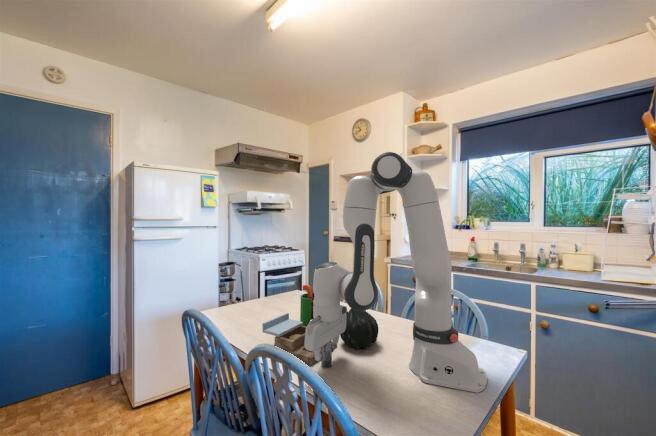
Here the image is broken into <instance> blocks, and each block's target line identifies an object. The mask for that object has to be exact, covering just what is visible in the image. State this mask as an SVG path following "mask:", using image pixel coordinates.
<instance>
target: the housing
mask: <svg viewBox="0 0 656 436" xmlns="http://www.w3.org/2000/svg"><path fill="white" fill-rule="evenodd" d="M305 332H306V326H300V327H298V328H296V329H294V330H292V331H290V332H288V333H286V334H284V335H282V336H280V337H277V336H274V347H275V346H277V347H279V348H281V349H283V350H285V351H287V352H289V353H291V354H293V355H294V356H296V357H297V358H299V359H300V360H302V361H303V362H305V363H306V364H305V365H307V366H309V367H310V366H313V365H314V364H316V363H317V362H318V361H316V360H315V354H314V352H312V351H309V350H306V348H305V346H304V342H305ZM332 351H334V350H333V349H332ZM320 354H321V350H320Z"/></svg>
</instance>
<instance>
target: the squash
mask: <svg viewBox="0 0 656 436" xmlns="http://www.w3.org/2000/svg"><path fill="white" fill-rule="evenodd" d="M379 330H380V329H379V324H378V322H377V320H376V318H374V316H372V315H371V314H370V313H369V312H367V310H366V311H355V310H353V309H352V308H350V309H349V310H348V313H347V314H346V329H345V332H343V333H342V334H340V335H339V337H340V339H341V340H342V341H343V342H344V343H345V345H346V346H347V347H351V348H352V347H354V348H355V349H356V350H359V349H361V348H362V349H364V350H365V349H369V347H370V346H371V345H374V344H375V343H377V340H378V337H379Z"/></svg>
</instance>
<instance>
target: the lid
mask: <svg viewBox="0 0 656 436" xmlns="http://www.w3.org/2000/svg"><path fill="white" fill-rule="evenodd" d="M302 325H303V322H300V320H296V319H292V318H290V313H288V312H286V313H284V314H281V315H279V316H277V317H274V318H273V319H270V320H267V321H265V322H263V323H262V333H264V334H268V335H271V336H274V337H276V336H277V337H280V336H282V335H284V334H286V333H288V332H290V331H292V330H294V329H296V328H298V327H300V326H302Z"/></svg>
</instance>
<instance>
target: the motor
mask: <svg viewBox="0 0 656 436" xmlns="http://www.w3.org/2000/svg"><path fill="white" fill-rule="evenodd" d="M312 290H313V288H312V286H311V285H310V284H303V285H302V291H306V292H307V293H302V294H301V295H300V305H299V306H300V308H299V309H300V310H299V311H300V313H299V314H300V315H299V317H300V319H299V321H300V322H303V325H302V326H306V327H307V325H308V324H309V322H310V320H311V319H314V318H313V301H314V292H313V291H312Z"/></svg>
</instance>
